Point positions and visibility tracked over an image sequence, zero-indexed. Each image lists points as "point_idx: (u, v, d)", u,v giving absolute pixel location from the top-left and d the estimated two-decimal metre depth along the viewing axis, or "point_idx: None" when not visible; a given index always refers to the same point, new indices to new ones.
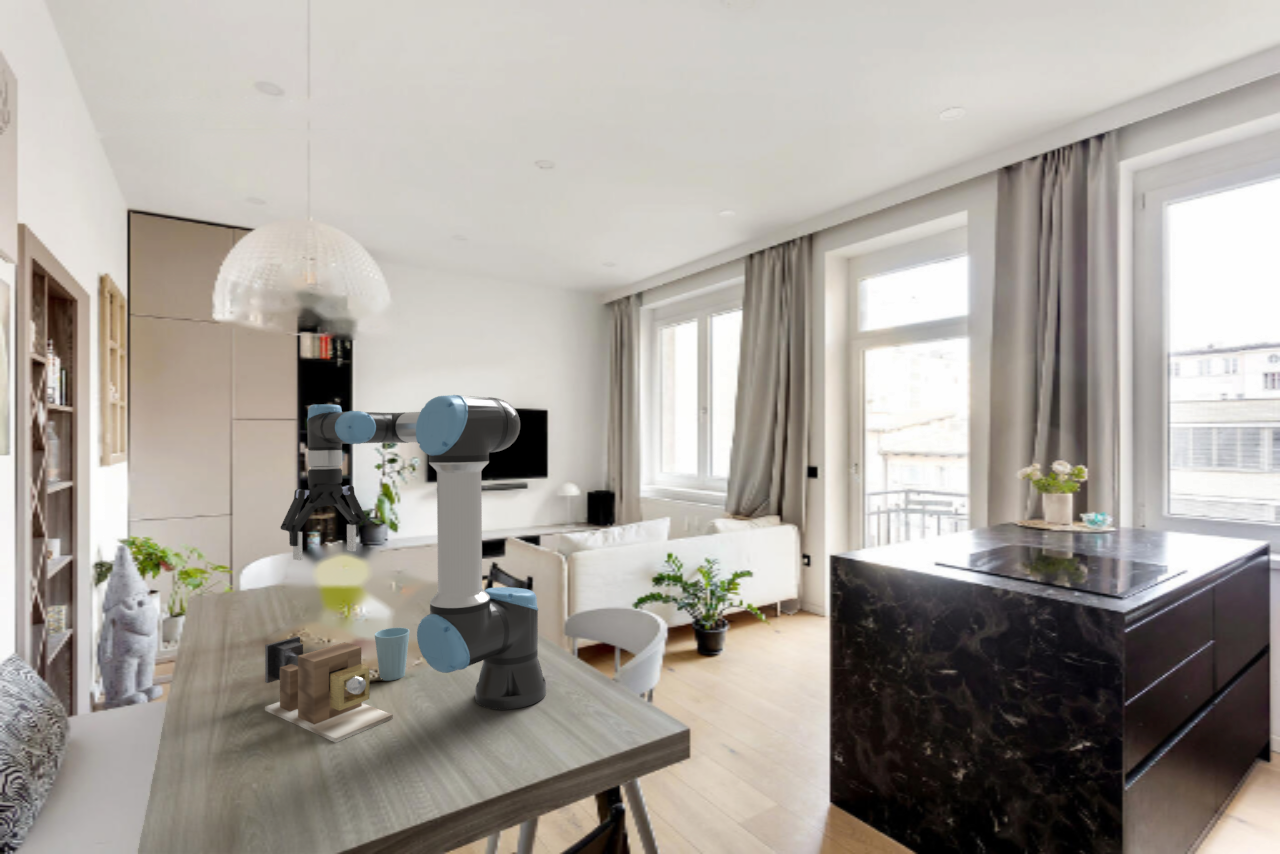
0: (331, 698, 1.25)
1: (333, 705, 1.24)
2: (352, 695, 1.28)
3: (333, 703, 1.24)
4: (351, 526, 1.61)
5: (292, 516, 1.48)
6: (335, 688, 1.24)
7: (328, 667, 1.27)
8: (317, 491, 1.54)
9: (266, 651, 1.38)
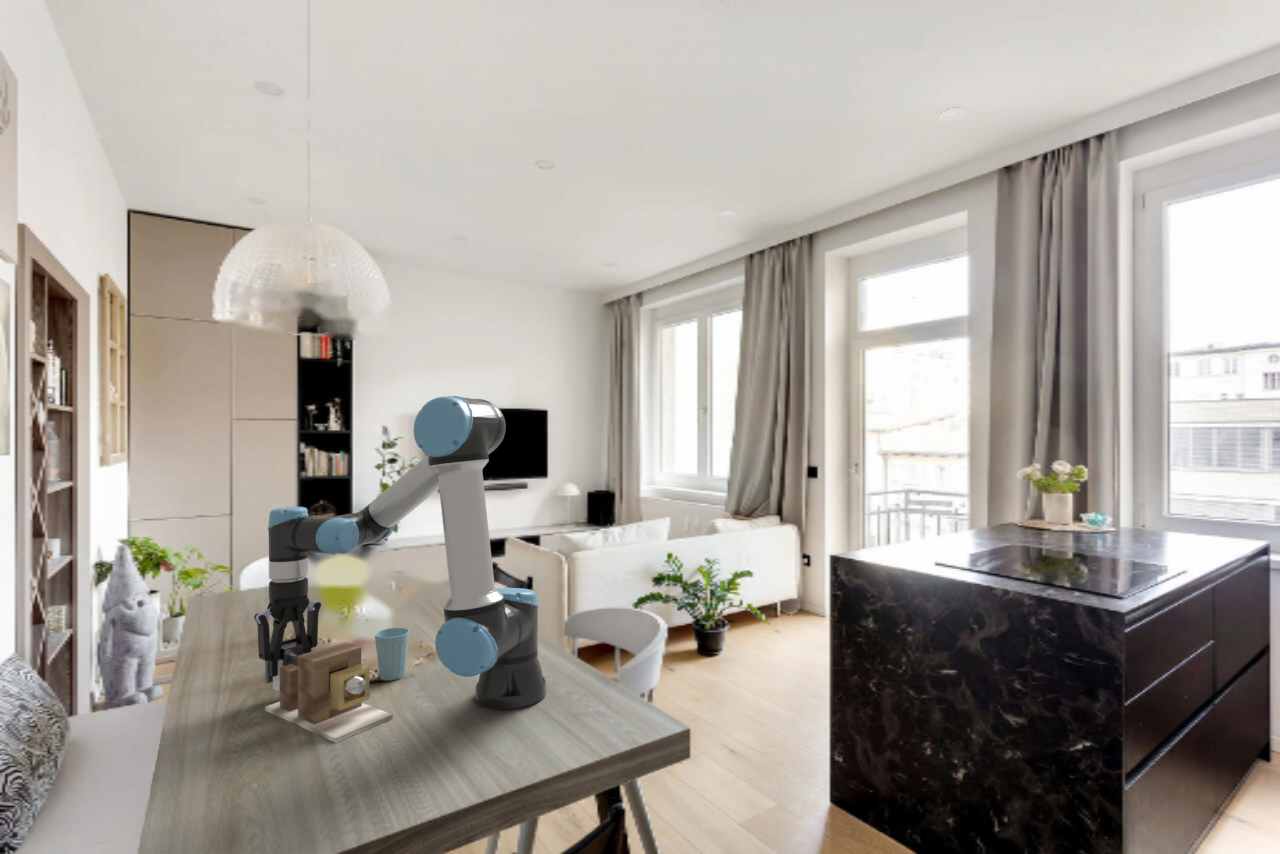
0: (331, 698, 1.25)
1: (333, 705, 1.24)
2: (352, 695, 1.28)
3: (333, 703, 1.24)
4: None
5: (265, 645, 1.34)
6: (335, 688, 1.24)
7: (328, 667, 1.27)
8: (278, 606, 1.37)
9: None
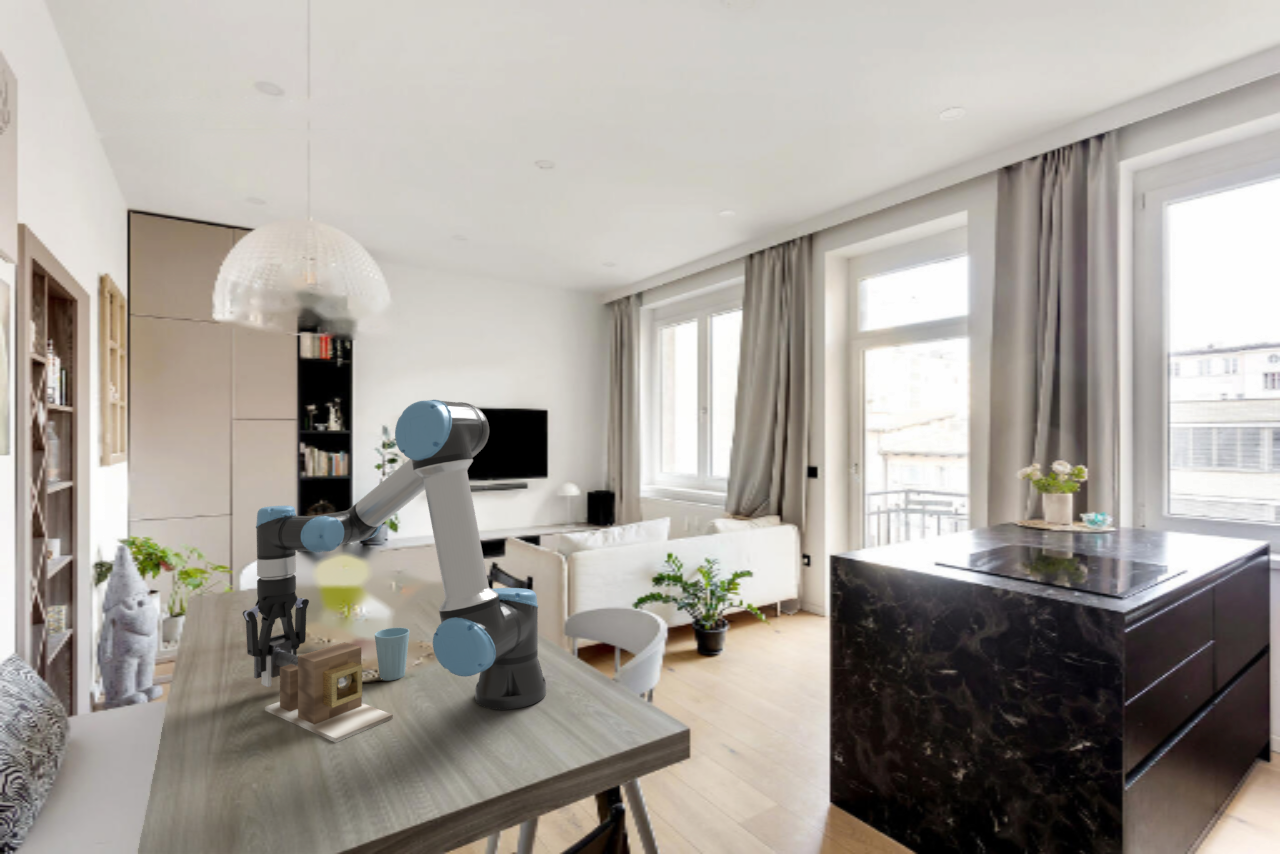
0: (324, 695, 1.26)
1: (326, 702, 1.26)
2: (345, 692, 1.29)
3: (326, 700, 1.26)
4: None
5: (253, 641, 1.37)
6: (328, 685, 1.25)
7: (328, 667, 1.27)
8: (266, 603, 1.39)
9: None
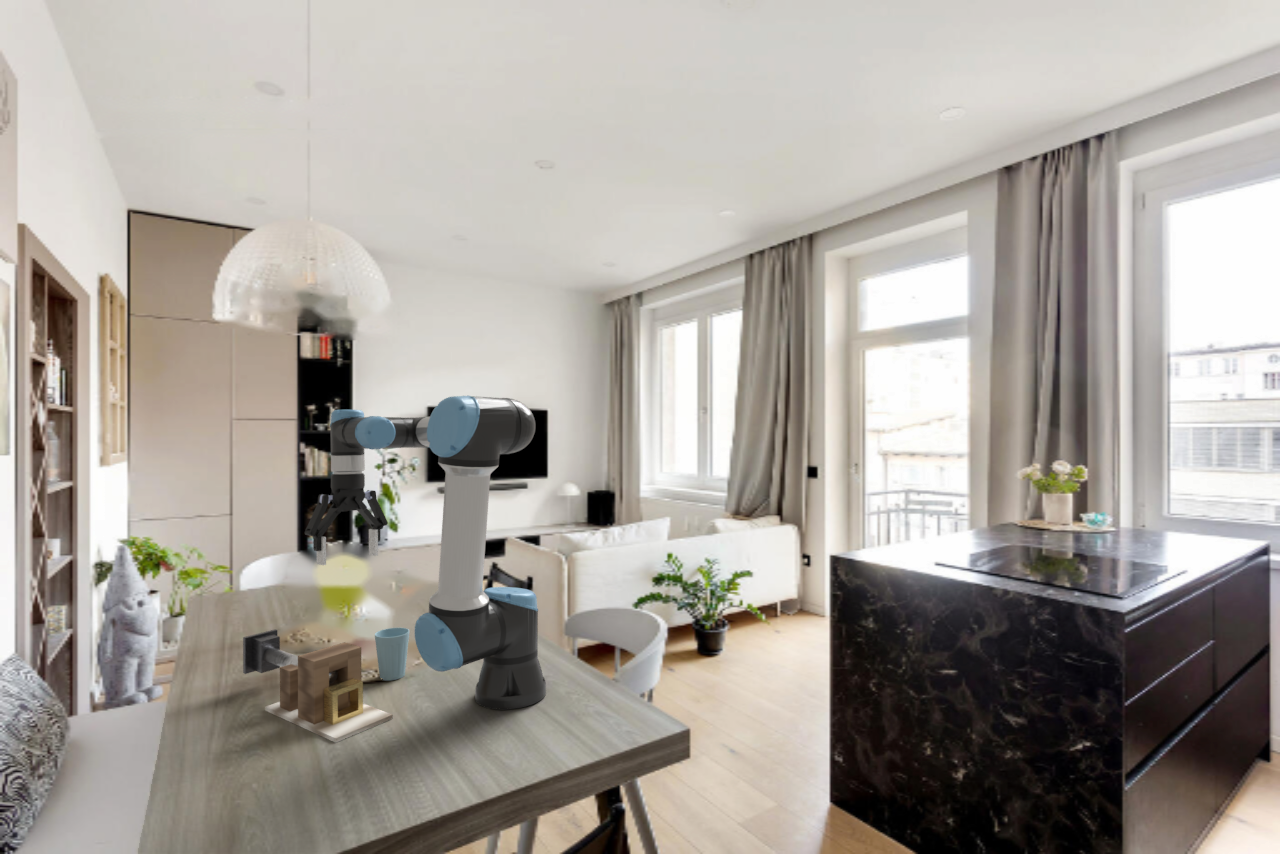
0: (325, 712, 1.26)
1: (327, 719, 1.25)
2: (346, 709, 1.29)
3: (327, 717, 1.25)
4: (373, 531, 1.61)
5: (316, 521, 1.49)
6: (329, 702, 1.25)
7: (328, 667, 1.27)
8: (340, 496, 1.54)
9: (244, 643, 1.43)
